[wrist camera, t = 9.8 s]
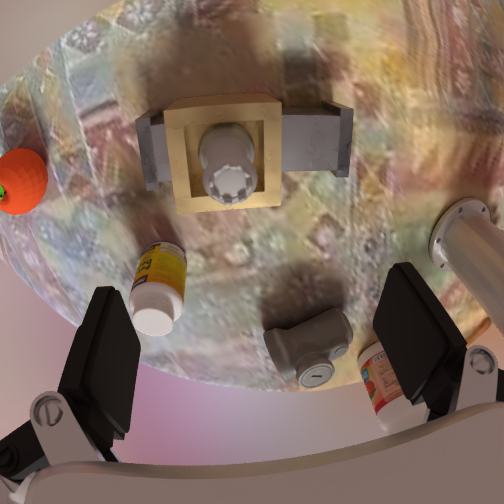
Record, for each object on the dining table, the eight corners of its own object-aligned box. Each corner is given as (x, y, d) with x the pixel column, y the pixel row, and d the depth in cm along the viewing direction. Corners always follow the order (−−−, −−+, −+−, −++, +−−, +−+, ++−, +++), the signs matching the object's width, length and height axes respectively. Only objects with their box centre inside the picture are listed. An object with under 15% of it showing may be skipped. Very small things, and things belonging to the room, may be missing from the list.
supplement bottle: (154, 231, 33) (137, 292, 25) (196, 253, 35) (192, 317, 27) (134, 264, 35) (116, 327, 27) (173, 284, 38) (166, 348, 29)
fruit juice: (407, 346, 53) (462, 465, 30) (370, 371, 57) (414, 490, 34) (388, 330, 49) (451, 470, 26) (347, 360, 52) (394, 497, 29)
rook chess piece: (262, 160, 24) (282, 201, 18) (213, 183, 25) (214, 232, 19) (239, 112, 22) (250, 133, 15) (188, 137, 23) (176, 170, 16)
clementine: (0, 177, 26) (-33, 204, 20) (15, 126, 23) (-23, 145, 17) (47, 207, 29) (19, 239, 24) (66, 157, 27) (35, 182, 21)
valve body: (333, 93, 27) (372, 106, 20) (329, 167, 31) (362, 201, 24) (147, 103, 25) (121, 118, 18) (157, 179, 30) (140, 218, 23)
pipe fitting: (274, 355, 48) (291, 405, 39) (256, 323, 44) (272, 376, 35) (341, 324, 47) (369, 368, 38) (331, 288, 43) (363, 334, 34)
